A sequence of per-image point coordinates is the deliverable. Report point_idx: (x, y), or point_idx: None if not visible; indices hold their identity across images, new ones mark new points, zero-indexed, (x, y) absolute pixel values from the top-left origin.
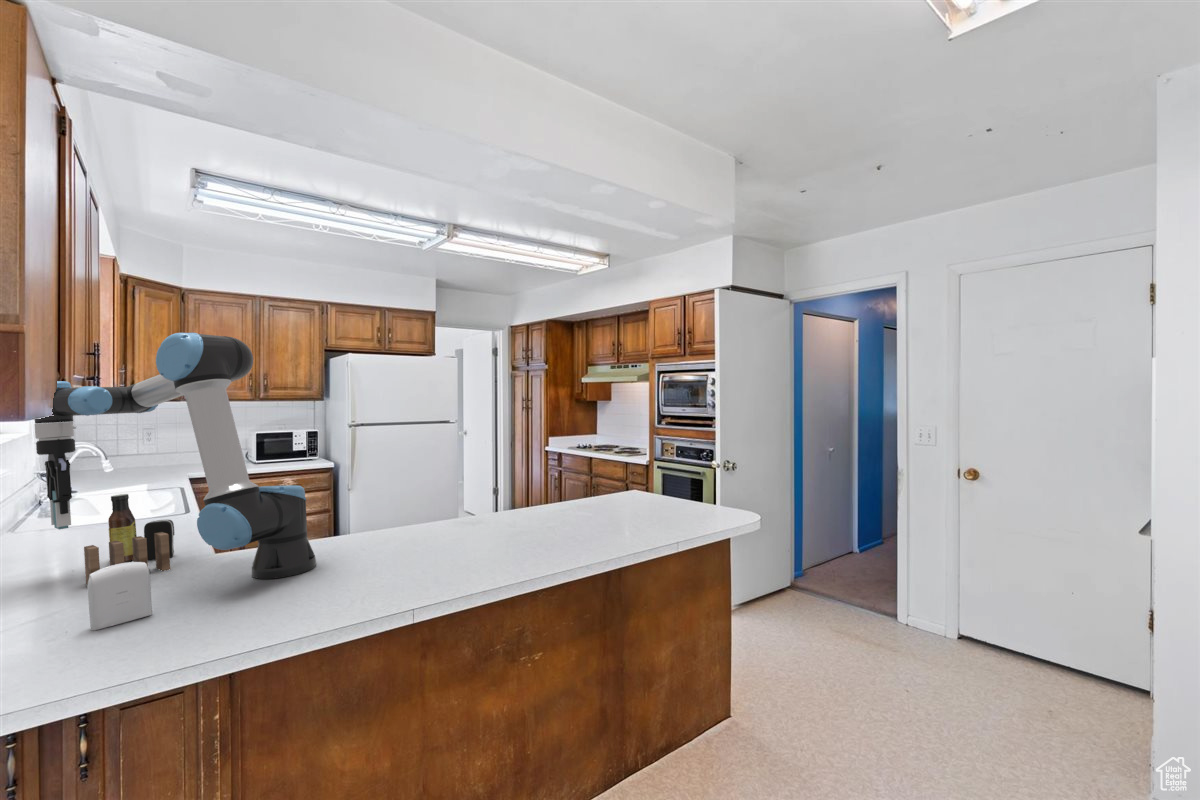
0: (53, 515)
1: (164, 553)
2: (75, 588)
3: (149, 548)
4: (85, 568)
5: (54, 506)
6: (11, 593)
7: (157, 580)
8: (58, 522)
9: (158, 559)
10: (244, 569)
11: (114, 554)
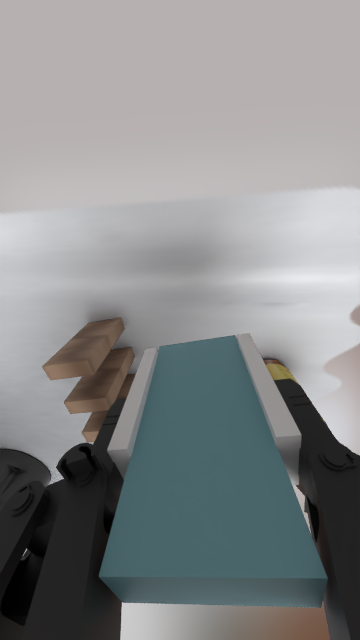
0: (247, 367)
1: None
2: (106, 303)
3: None
4: (107, 332)
5: (227, 414)
6: (164, 204)
7: (67, 388)
8: (142, 363)
9: None
10: (52, 451)
11: (80, 384)
